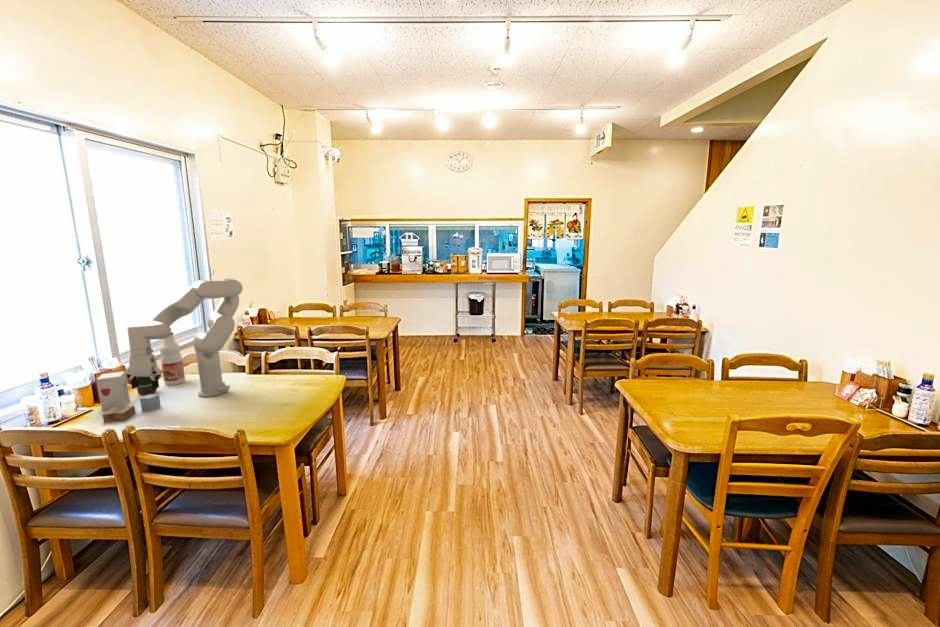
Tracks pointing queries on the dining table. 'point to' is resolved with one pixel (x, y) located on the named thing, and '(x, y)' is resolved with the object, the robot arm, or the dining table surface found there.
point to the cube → (150, 402)
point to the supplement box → (113, 390)
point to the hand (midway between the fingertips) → (145, 388)
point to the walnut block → (119, 414)
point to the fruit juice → (171, 361)
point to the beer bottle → (145, 386)
